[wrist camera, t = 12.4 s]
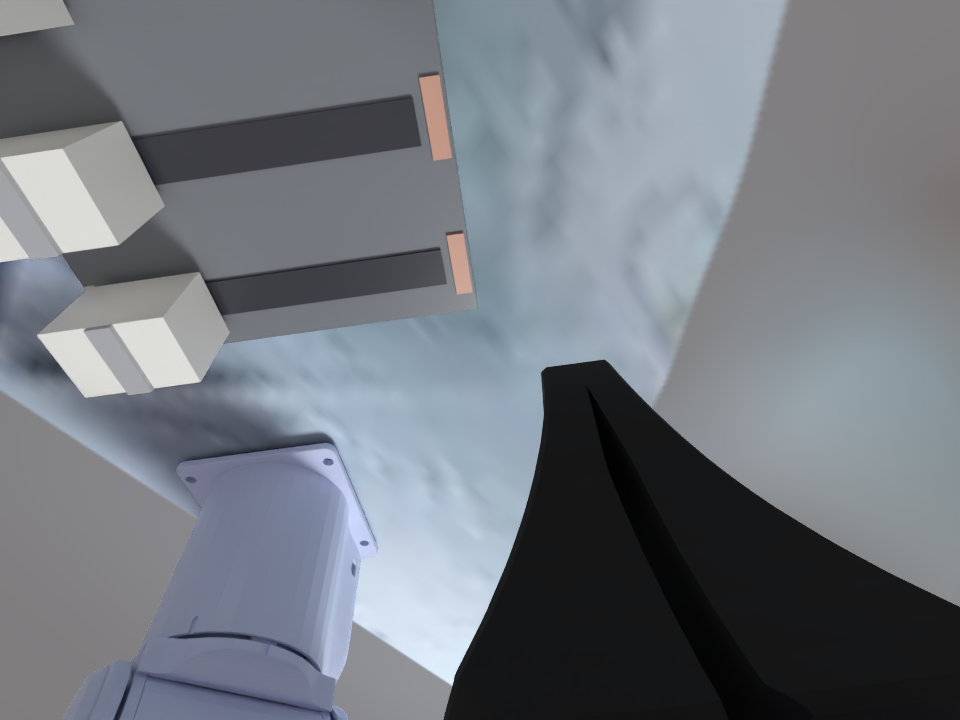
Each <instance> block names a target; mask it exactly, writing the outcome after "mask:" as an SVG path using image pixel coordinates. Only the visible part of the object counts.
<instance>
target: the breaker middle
mask: <svg viewBox="0 0 960 720" xmlns="http://www.w3.org/2000/svg"><path fill="white" fill-rule="evenodd" d="M164 206H165V205H164V203H163V201H162V199H161V197H160V195H159V193H158V191H157V190H156V188H155V186H154V184H153V182H152V180H151V178H150V176H149V174H148V172H147V170H146V168H145V166H144V164H143V162H142V160H141V158H140V156H139V154H138V152H137V150H136V148H135V146H134V144H133V142H132V140H131V138H130V136H129V134H128V132H127V130H126V128H125V126H124V124H123V122H122V121H116V122H110V123H103V124H97V125H90V126H83V127H77V128H70V129H64V130H57V131H50V132H44V133H37V134H31V135H24V136H17V137H11V138H4V139H0V262H6V261H13V260H20V259H27V258H30V259H31V260H37V259H44V258H51V257H58V256H60V255H62V254H63V253H68V252H75V251H82V250H89V249H96V248H103V247H109V246H116V245H120V244H121V243H122V242H123V241H124V240H126V239H127V238H128V237H129V236H130V235H132V234H133V233H134V232H135V231H136V230H137V229H139V228H140V227H141V226H142V225H143V224H144V223H146V222H147V221H148V220H149V219H150V218H151V217H153V216H154V215H155V214H156V213H157V212H159V211H160V210H161V209H162V208H163V207H164Z"/></svg>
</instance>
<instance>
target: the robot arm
mask: <svg viewBox="0 0 960 720" xmlns="http://www.w3.org/2000/svg"><path fill="white" fill-rule="evenodd" d="M541 377H542V392H543V407H544V420H543V428H542V437H541V444H540V449H539V454H538V459H537V464H536V469H535V474H534V478H533V482H532V486H531V490H530V494H529V498H528V501H527V505H526V508H525V512H524V515H523V518H522V521H521V524H520V527H519V530H518V533H517V536H516V539H515V542H514V545H513V548H512V551H511V553H510V556H509V559H508V561H507V564H506V566H505V569H504V571H503V574H502V576H501V578H500V581H499V583H498V585H497V588H496V590H495V592H494V595H493V597H492V599H491V602H490V604H489V607H488V609H487V611H486V613H485V615H484V618H483V620H482V622H481V624H480V626H479V628H478V630H477V632H476V634H475V636H474V638H473V640H472V642H471V644H470V646H469V648H468V650H467V652H466V654H465V656H464V658H463V660H462V662H461V664H460V666H459V668H458V670H457V672H456V674H455V678H454V683H453V686H452V690H451V693H450V697H449V701H448V704H447V708H446V712H445V716H444V720H960V607H959V606H957V605H954V604H952V603H950V602H948V601H946V600H944V599H942V598H940V597H938V596H936V595H934V594H932V593H930V592H928V591H925V590H923V589H921V588H919V587H917V586H915V585H913V584H911V583H909V582H907V581H905V580H903V579H900V578H898V577H896V576H894V575H892V574H890V573H888V572H886V571H885V570H883V569H881V568H879V567H877V566H875V565H873V564H872V563H870V562H868V561H866V560H864V559H862V558H860V557H858V556H856V555H855V554H853V553H851V552H849V551H848V550H846V549H844V548H842V547H840V546H838V545H837V544H835V543H833V542H831V541H830V540H828V539H826V538H824V537H823V536H821V535H820V534H818V533H816V532H815V531H813V530H811V529H810V528H808V527H807V526H805V525H803V524H802V523H800V522H798V521H797V520H795V519H793V518H792V517H790V516H789V515H787V514H785V513H784V512H782V511H780V510H779V509H777V508H775V507H774V506H773V505H771V504H770V503H768V502H767V501H765V500H764V499H762V498H761V497H759V496H758V495H756V494H755V493H753V492H752V491H750V490H749V489H748V488H746V487H745V486H744V485H742V484H741V483H739V482H738V481H737V480H735V479H734V478H733V477H731V476H730V475H729V474H727V473H726V472H725V471H723V470H722V469H721V468H719V467H718V466H717V465H716V464H714V463H713V462H712V461H711V460H709V459H708V458H707V457H706V456H704V455H703V454H702V453H701V452H700V451H699V450H697V449H696V448H695V447H694V446H693V445H691V444H690V443H689V442H688V441H687V440H686V439H684V438H683V437H682V436H681V435H680V434H679V433H678V432H677V431H675V430H674V429H673V428H672V427H671V426H670V425H669V424H668V423H667V422H666V421H665V420H664V419H663V418H661V417H660V416H659V415H658V414H657V413H656V412H655V411H654V410H653V409H652V408H651V407H650V406H649V405H648V404H647V403H646V402H645V401H644V400H643V399H642V398H641V397H640V396H639V395H638V394H637V393H636V392H635V391H634V390H633V389H632V388H631V387H630V386H629V384H628V383H627V382H626V381H625V380H624V379H623V378H622V377H621V376H620V375H619V374H618V373H617V371H616V370H615V369H614V368H613V367H612V366H611V365H610V364H609V363H608V362H607V361H606V360H598V361H591V362H583V363H576V364H568V365H561V366H553V367H546V368H545V369H544V370H543V371H542V372H541ZM326 458H328V459H332V460H328V459H326ZM176 473H177V475H178V476H179V478H180V479H181V480H182V482H183V483H184V484H185V486H186V487H187V489H188V490H189V491H190V493H191V494H192V496H193V497H194V498H195V500H196V501H197V503H198V504H199V505H200V507H201V508H202V510H201V512H200V514H199V516H198V519H197V521H196V523H195V525H194V528H193V530H192V532H191V534H190V537H189V539H188V541H187V543H186V545H185V548H184V550H183V552H182V555H181V557H180V559H179V561H178V564H177V566H176V568H175V570H174V572H173V575H172V577H171V579H170V581H169V584H168V586H167V588H166V591H165V593H164V595H163V597H162V599H161V602H160V604H159V606H158V608H157V611H156V613H155V615H154V617H153V620H152V622H151V625H150V626H149V629H148V631H147V633H146V635H145V638H144V640H143V642H142V645H141V647H140V649H139V651H138V653H137V655H136V656H135V657H134V659H133V660H132V661H131V662H127V661H124V660H120V659H115V660H113V661H111V662H110V663H109V664H108V665H107V666H106V667H103V668H101V669H99V670H98V671H96V672H94V673H92V674H90V675H89V676H88V677H87V678H86V680H85V681H84V683H83V684H82V686H81V687H80V689H79V690H78V692H77V693H76V695H75V697H74V698H73V700H72V702H71V704H70V705H69V707H68V709H67V710H66V712H65V714H64V716H63V717H62V719H61V720H349V719H348V717H347V715H346V713H345V712H344V711H343V710H342V709H341V708H340V707H338V706H335V705H333V699H334V692H335V686H336V681H337V680H338V678H339V676H340V674H341V672H342V670H343V668H344V665H345V663H346V659H347V655H348V650H349V643H350V635H351V628H352V621H353V614H354V606H355V599H356V592H357V584H358V577H359V570H360V562H361V559H362V558H370V557H374V556H375V555H377V552H378V546H377V544H376V542H375V539H374V537H373V535H372V532H371V530H370V527H369V525H368V523H367V520H366V518H365V516H364V513H363V511H362V509H361V506H360V504H359V501H358V499H357V497H356V494H355V492H354V490H353V487H352V485H351V482H350V480H349V478H348V475H347V473H346V471H345V468H344V466H343V464H342V461H341V459H340V456H339V454H338V452H337V449H336V448H335V446H333V445H332V444H329V443H320V444H313V445H305V446H297V447H290V448H282V449H275V450H267V451H260V452H252V453H245V454H237V455H230V456H222V457H214V458H207V459H199V460H192V461H184V462H181V463H180V464H179V465H178V467H177V469H176Z"/></svg>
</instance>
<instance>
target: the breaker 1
mask: <svg viewBox="0 0 960 720" xmlns="http://www.w3.org/2000/svg"><path fill="white" fill-rule="evenodd" d="M69 25H75V24H74V22H73V20H72V18H71V16H70V14H69V12H68V10H67V8H66V6H65V4H64V2H63V0H0V36H5V35H11V34H18V33H24V32H30V31H37V30H43V29H50V28H56V27H62V26H69Z"/></svg>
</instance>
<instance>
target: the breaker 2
mask: <svg viewBox="0 0 960 720" xmlns="http://www.w3.org/2000/svg"><path fill="white" fill-rule="evenodd" d="M229 333H230V332H229V330H228V328H227V326H226V324H225V322H224V320H223V318H222V316H221V314H220V312H219V310H218V308H217V306H216V304H215V302H214V300H213V298H212V296H211V294H210V292H209V290H208V288H207V286H206V284H205V282H204V280H203V278H202V276H201V274H200V272H195V273H188V274H181V275H174V276H167V277H160V278H153V279H146V280H139V281H132V282H125V283H118V284H111V285H104V286H97V287H90V288H88V289H87V290H86V291H85V292H84V293H83V294H81V295H80V296H79V297H78V298H77V299H76V300H75V301H74V302H73V303H71V304H70V305H69V306H68V307H67V308H66V309H65V310H64V311H63V312H61V313H60V314H59V315H58V316H57V317H56V318H55V319H54V320H53V321H51V322H50V323H49V324H48V325H47V326H46V327H45V328H44V329H43V330H41V331H40V332H39V333H38V334H37V336H38V338H39V339H40V340H41V341H42V343H43V344H44V345H45V347H46V348H47V349H48V350H49V352H50V353H51V354H52V356H53V357H54V358H55V359H56V361H57V362H58V363H59V365H60V366H61V367H62V368H63V370H64V371H65V372H66V374H67V375H68V376H69V377H70V379H71V380H72V381H73V383H74V384H75V385H76V386H77V388H78V389H79V390H80V392H81V393H82V394H83V395H84V397H85V398H88V397H95V396H103V395H110V394H117V393H125V392H126V393H127V394H128V395H135V394H143V393H150V392H152V391H153V390H154V388H161V387H169V386H176V385H183V384H190V383H198V382H201V381H202V379H203V377H204V376H205V374H206V372H207V370H208V369H209V367H210V365H211V364H212V362H213V360H214V359H215V357H216V355H217V353H218V352H219V350H220V348H221V347H222V345H223V343H224V341H225V340H226V338H227V336H228V335H229Z"/></svg>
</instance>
